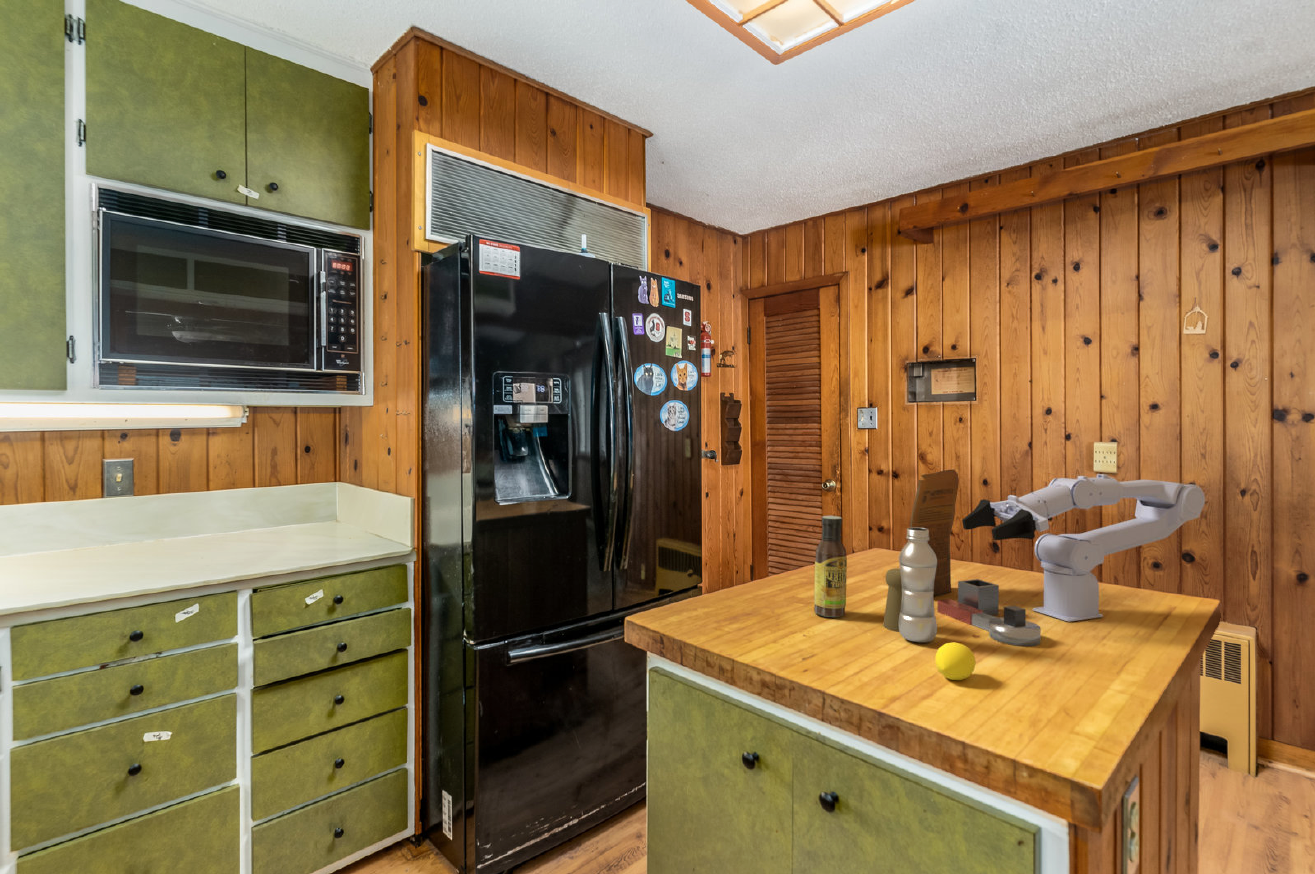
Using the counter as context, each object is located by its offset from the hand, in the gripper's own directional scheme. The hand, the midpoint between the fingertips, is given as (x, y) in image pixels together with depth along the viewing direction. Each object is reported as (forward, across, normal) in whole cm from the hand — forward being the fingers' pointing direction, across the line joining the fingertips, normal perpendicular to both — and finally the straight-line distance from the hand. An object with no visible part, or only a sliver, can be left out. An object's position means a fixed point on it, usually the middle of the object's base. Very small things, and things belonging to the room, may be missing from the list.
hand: (978, 529), depth 120 cm
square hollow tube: (+1, -4, +19) cm, 20 cm away
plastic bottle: (+22, +7, +12) cm, 26 cm away
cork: (+20, 0, +13) cm, 24 cm away
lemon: (+26, +22, +9) cm, 36 cm away
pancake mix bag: (+1, -18, +21) cm, 27 cm away
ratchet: (+6, +4, +17) cm, 18 cm away
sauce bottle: (+29, -11, +12) cm, 33 cm away
